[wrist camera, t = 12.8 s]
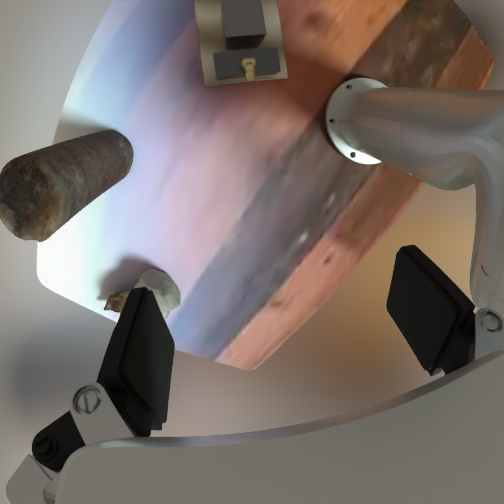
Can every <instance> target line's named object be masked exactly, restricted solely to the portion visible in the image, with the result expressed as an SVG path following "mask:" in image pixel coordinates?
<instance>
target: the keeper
mask: <svg viewBox="0 0 504 504" xmlns="http://www.w3.org/2000/svg"><path fill="white" fill-rule="evenodd" d="M213 58H214V66H215V73H216V79H217V81H219V80H226V79H234V78H242V77H246V79H247V80H248V81H253V80H255V78H256V76H263V75H276V74H277V73H279V72H280V71H281V68H280V61H279V53H278V47H267V48H252V49H241V50H232V51H224V52H217V53H213Z"/></svg>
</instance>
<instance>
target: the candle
mask: <svg viewBox="0 0 504 504" xmlns="http://www.w3.org/2000/svg"><path fill="white" fill-rule="evenodd" d="M132 162H133V148H132V146H131V143H130V142H129V140H128V139H127V138H126V137H125V136H124V135H122V134H121V133H119V132H117V131H113V130H112V131H102V132H98V133H93V134H89V135H86V136H82V137H79V138H75V139H72V140H68V141H65V142H61V143H58V144H55V145H52V146H49V147H45V148H42V149H39V150H36V151H33V152H30V153H27V154H24V155H22V156H19V157H17V158H14V159H12V160H11V161H9V162H8V163H7V164H6V165H5V166H4V167H3V169H2V171H1V174H0V219H1V220H2V222H3V224H4V225H5V226H6V228H7V229H8V230H9V231H11V232H12V233H13V234H14V235H15V236H17V237H18V238H21V239H24V240H37V241H39V242H42V241H45V240H46V239H48V238H49V237H50V236H51V235H52V234H53V233H55V232H56V231H57V230H58V229H59V228H60V227H62V226H63V225H64V224H65V223H66V222H68V221H69V220H70V219H71V218H72V217H73V216H75V215H76V214H77V213H78V212H79V211H81V210H82V209H83V208H84V207H86V206H87V205H88V204H89V203H91V202H92V201H93V200H94V199H96V198H97V197H98V196H100V195H101V194H102V193H104V192H105V191H107V190H108V189H109V188H111V187H112V186H114V185H115V184H117V183H118V182H119V181H121V180H122V179H123V178H125V176H126V175H127V174H128V173H129V171H130V168H131V166H132Z"/></svg>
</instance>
